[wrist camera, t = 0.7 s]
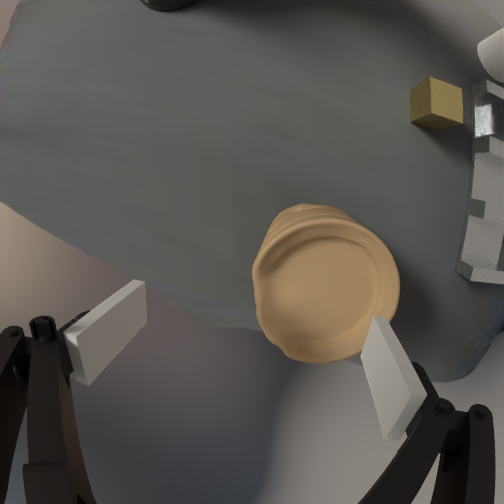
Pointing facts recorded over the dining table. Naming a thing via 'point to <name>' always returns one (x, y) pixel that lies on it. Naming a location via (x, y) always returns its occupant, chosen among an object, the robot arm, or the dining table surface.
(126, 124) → the dining table surface
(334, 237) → the container
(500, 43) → the cup
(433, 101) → the tan wooden cube
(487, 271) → the white slotted rack
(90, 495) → the robot arm
